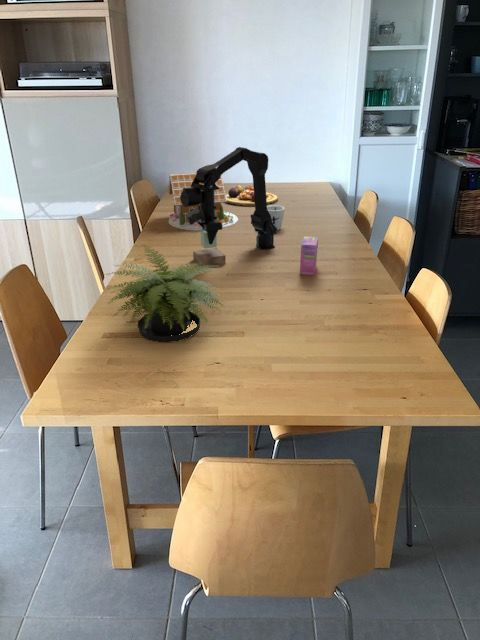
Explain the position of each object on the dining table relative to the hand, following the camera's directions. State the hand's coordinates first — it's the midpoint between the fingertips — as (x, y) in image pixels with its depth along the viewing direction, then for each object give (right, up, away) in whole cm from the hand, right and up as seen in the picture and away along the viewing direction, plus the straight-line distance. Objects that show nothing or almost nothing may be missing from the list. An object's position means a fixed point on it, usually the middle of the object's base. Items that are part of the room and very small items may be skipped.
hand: (208, 242), depth 205 cm
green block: (0, -1, +1) cm, 2 cm away
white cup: (+29, +14, +47) cm, 57 cm away
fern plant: (-9, -33, -48) cm, 59 cm away
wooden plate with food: (+18, +38, +97) cm, 106 cm away
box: (+38, -12, -5) cm, 40 cm away
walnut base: (0, -8, +4) cm, 9 cm away
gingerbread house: (-6, +19, +59) cm, 62 cm away
